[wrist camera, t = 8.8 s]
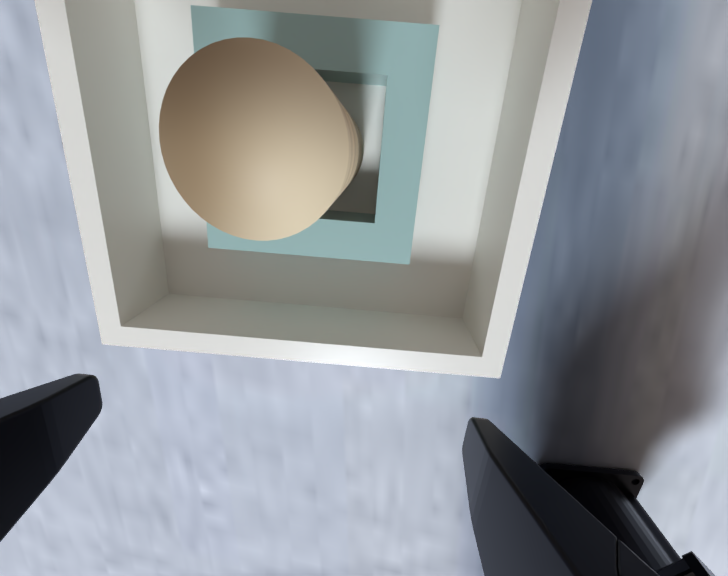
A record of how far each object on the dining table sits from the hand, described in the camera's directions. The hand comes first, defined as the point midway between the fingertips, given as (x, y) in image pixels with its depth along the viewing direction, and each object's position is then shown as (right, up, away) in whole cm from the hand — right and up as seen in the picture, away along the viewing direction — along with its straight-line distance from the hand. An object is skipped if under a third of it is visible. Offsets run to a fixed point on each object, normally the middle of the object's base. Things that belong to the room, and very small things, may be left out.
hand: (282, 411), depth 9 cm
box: (0, +10, +9) cm, 13 cm away
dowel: (0, +9, +8) cm, 13 cm away
